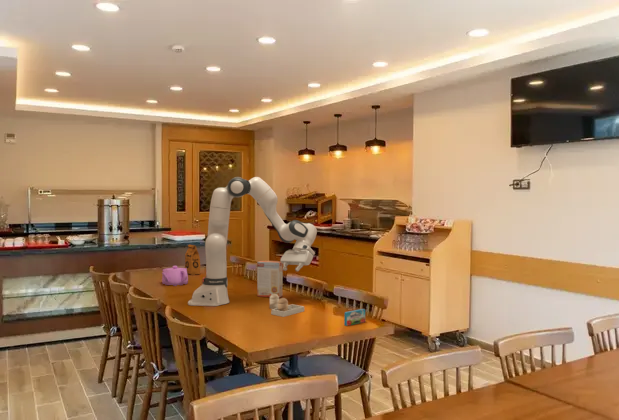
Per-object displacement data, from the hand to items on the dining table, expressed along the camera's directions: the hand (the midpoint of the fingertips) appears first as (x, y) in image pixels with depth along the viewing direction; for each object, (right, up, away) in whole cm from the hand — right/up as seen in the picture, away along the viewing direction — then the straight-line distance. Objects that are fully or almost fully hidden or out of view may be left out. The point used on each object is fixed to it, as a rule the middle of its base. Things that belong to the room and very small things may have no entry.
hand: (290, 270), depth 278 cm
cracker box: (-13, -18, +23) cm, 32 cm away
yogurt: (+32, -21, -40) cm, 55 cm away
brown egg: (-3, -19, -24) cm, 30 cm away
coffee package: (-78, -16, +107) cm, 133 cm away
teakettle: (-80, -17, +64) cm, 104 cm away
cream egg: (-8, -19, -9) cm, 23 cm away
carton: (0, -20, -21) cm, 28 cm away
